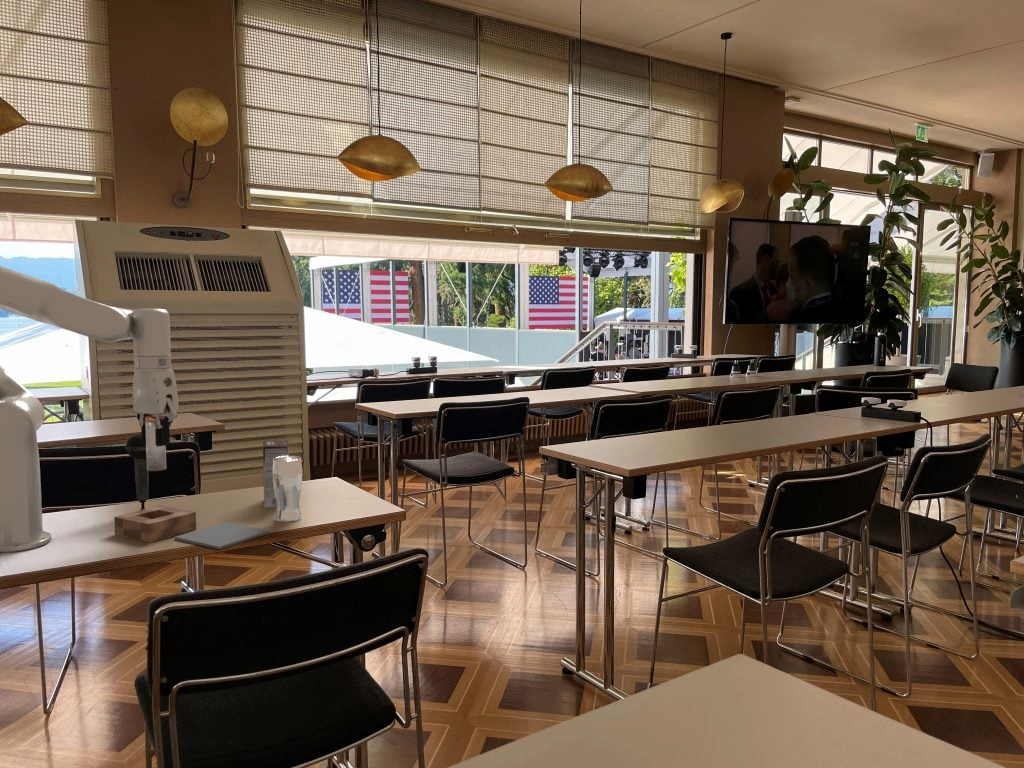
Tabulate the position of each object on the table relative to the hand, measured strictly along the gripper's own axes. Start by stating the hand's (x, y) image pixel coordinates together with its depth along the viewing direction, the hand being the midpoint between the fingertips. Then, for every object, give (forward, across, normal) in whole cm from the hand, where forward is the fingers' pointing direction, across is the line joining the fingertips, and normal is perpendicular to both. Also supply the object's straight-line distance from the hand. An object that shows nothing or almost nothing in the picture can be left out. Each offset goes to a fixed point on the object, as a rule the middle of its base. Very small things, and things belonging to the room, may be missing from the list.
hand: (155, 443), depth 170 cm
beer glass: (+21, -18, -23) cm, 35 cm away
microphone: (+20, +18, -9) cm, 28 cm away
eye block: (+20, +1, 0) cm, 20 cm away
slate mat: (+20, -15, -5) cm, 26 cm away
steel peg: (+6, 0, 0) cm, 6 cm away
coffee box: (+21, -4, -33) cm, 39 cm away
